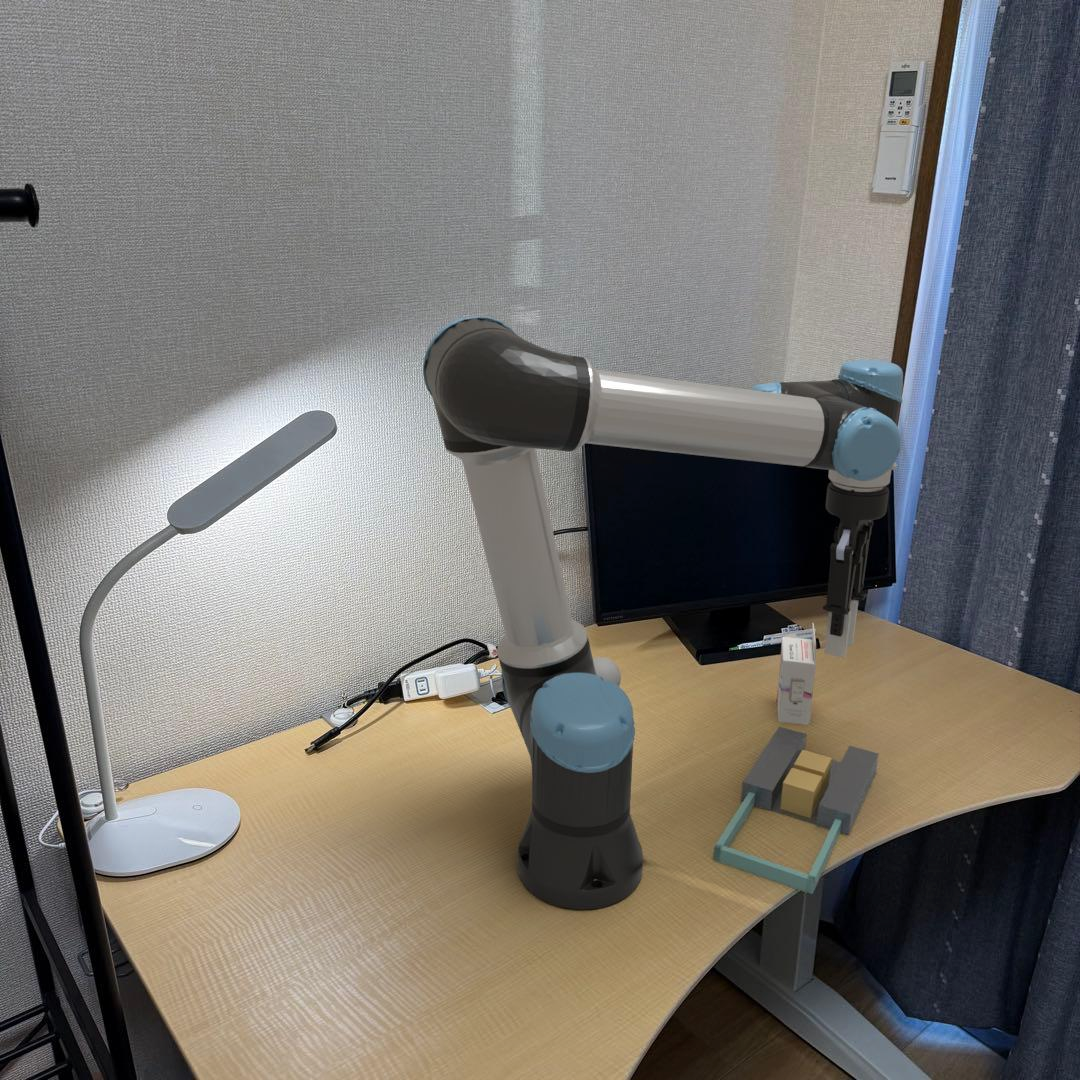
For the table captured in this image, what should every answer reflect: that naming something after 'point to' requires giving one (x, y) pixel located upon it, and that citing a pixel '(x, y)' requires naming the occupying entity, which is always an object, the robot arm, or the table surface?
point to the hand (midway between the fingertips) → (838, 648)
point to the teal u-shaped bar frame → (766, 867)
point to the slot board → (840, 794)
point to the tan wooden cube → (801, 792)
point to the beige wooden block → (815, 766)
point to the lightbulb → (607, 670)
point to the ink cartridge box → (796, 679)
